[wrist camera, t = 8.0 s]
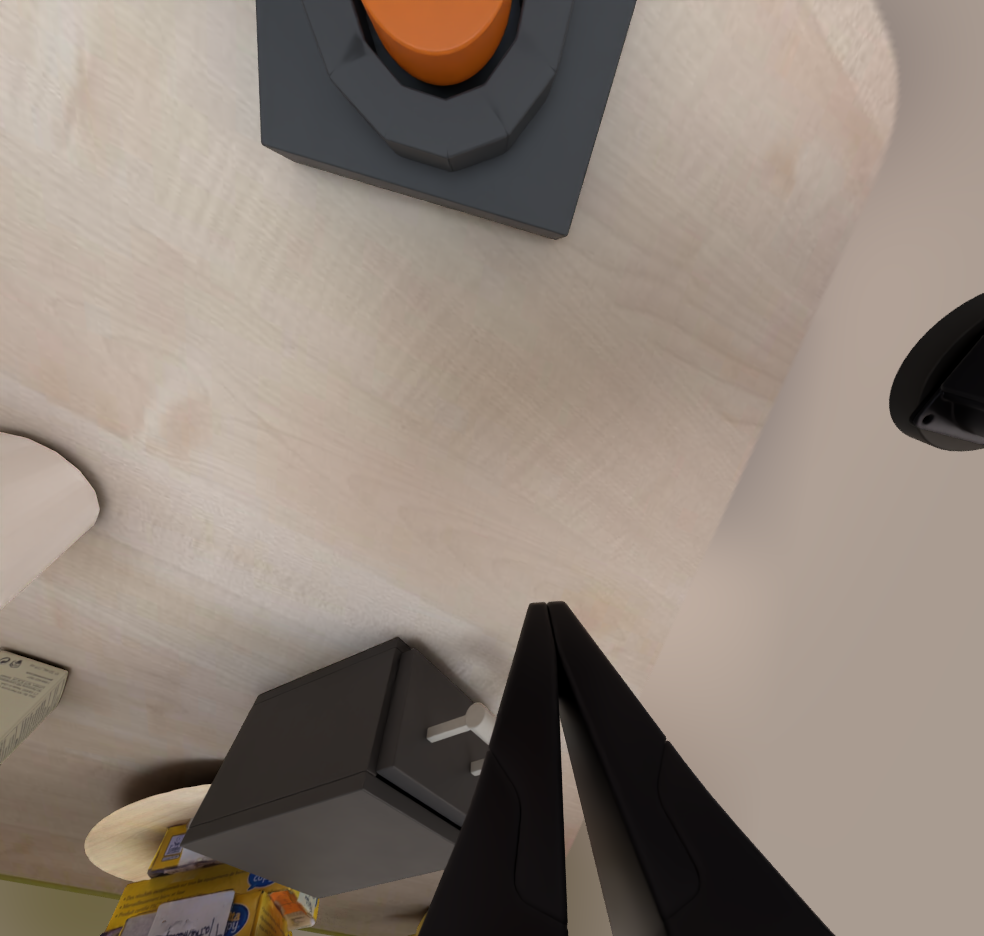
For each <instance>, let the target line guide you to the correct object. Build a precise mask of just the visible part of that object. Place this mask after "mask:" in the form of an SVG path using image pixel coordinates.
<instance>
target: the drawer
mask: <svg viewBox="0 0 984 936" xmlns="http://www.w3.org/2000/svg"><path fill="white" fill-rule="evenodd" d="M496 718H497V717H496V716H495V715H494V714H493V713H492V712H491V711H490V710H489V709H487V708H486V707H485V706H484V705H483V704H482V703H473V702H472V701H471V700H470V699H469V698H468V697H467V696H466V695H465V694H464V693H463V692H462V691H460V690H459V689H458V688H457V687H456V686H455V685H454V684H453V683H452V682H451V681H450V680H449V679H448V678H447V677H445V676H444V675H443V674H442V673H441V672H440V671H439V670H438V669H437V668H436V667H435V666H434V665H433V664H432V663H430V662H429V661H428V660H427V659H426V658H425V657H424V656H423V655H422V654H421V653H420V652H419V651H418V650H417V649H415V648H414V649H411V650H409V651H406V652H404V653H402V654H401V657H400V662H399V666H398V671H397V676H396V680H395V685H394V689H393V694H392V699H391V703H390V708H389V712H388V717H387V722H386V726H385V731H384V735H383V740H382V744H381V749H380V754H379V758H378V763H377V767H376V773H377V775H376V776H375V777H377V778H378V779H380V780H381V781H383V782H384V783H386V784H388V785H389V786H391V787H392V788H394V789H395V790H397V791H399V792H400V793H402V794H403V795H405V796H407V797H408V798H410V799H411V800H413V801H414V802H416V803H418V804H419V805H421V806H422V807H424V808H425V809H427V810H429V811H430V812H432V813H433V814H435V815H436V816H438V817H440V818H441V819H443V820H444V821H446V822H447V823H449V824H451V825H452V826H454V827H455V824H457V825H458V826H460V827H462V825H463V822H464V820H465V817H466V814H467V812H468V809H469V806H470V804H471V801H472V797H473V794H474V791H475V788H476V785H477V782H478V779H479V775H480V772H481V769H482V765H483V762H484V759H485V755H486V752H487V751H488V746H489V742H490V739H491V735H492V732H493V728H494V725H495V721H496Z"/></svg>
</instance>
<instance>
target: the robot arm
mask: <svg viewBox="0 0 984 936" xmlns="http://www.w3.org/2000/svg"><path fill="white" fill-rule="evenodd" d="M909 423H910V424H911V425H913V426H915V427H918V428H921V429H924V430H928V431H932V432H936V433H940V434H943V435H947V436H951V437H955V438H958V439H962V440H966V441H970V442H973V443H977V444H981V445H984V328H983V329H982V330H981V332H980V333H979V334H978V335H977V336H976V338H975V339H974V340H973V341H972V342H971V344H970V345H969V346H968V347H967V348H966V350H965V351H964V352H963V353H962V354H961V355H960V357H959V358H958V359H957V360H956V361H955V363H954V364H953V365H952V366H951V367H950V369H949V370H948V371H947V372H946V373H945V375H944V376H943V377H942V378H941V379H940V381H939V382H938V383H937V384H936V385H935V387H934V388H933V389H932V390H931V391H930V393H929V394H928V395H927V396H926V397H925V399H924V400H923V401H922V402H921V403H920V405H919V406H918V407H917V408H916V409H915V411H914V412H913V413H912V414H911V416H910V417H909ZM559 715H560V717H559ZM560 719H561V723H562V727H563V731H564V736H565V740H566V744H567V748H568V752H569V756H570V760H571V765H572V769H573V773H574V777H575V781H576V785H577V789H578V793H579V798H580V802H581V806H582V810H583V814H584V818H585V822H586V826H587V831H588V835H589V839H590V842H591V847H592V851H593V855H594V859H595V864H596V867H597V872H598V876H599V880H600V884H601V888H602V893H603V896H604V901H605V905H606V909H607V913H608V917H609V922H610V926H611V930H612V934H613V936H835V935H834V934H833V933H832V932H831V931H830V929H828V927H827V926H826V925H825V924H824V923H823V922H822V921H821V920H820V918H819V917H818V916H817V915H816V914H815V913H814V912H813V911H812V910H811V908H809V906H808V905H807V904H806V903H805V902H804V901H803V900H802V898H801V897H800V896H799V895H798V894H797V893H796V892H795V891H794V889H793V888H792V887H791V886H790V885H789V884H788V882H787V881H786V880H785V879H784V878H783V877H782V876H781V875H780V873H778V871H777V870H776V869H775V868H774V867H773V866H772V864H771V863H770V862H769V861H768V860H767V859H766V858H765V857H764V855H763V854H762V853H761V852H760V851H759V850H758V849H757V848H756V846H755V845H754V844H753V843H752V842H751V841H750V840H749V838H748V837H747V836H746V835H745V834H744V833H743V832H742V831H741V829H740V828H739V827H738V826H737V825H736V824H735V823H734V821H733V820H732V819H731V818H730V817H729V815H728V814H727V813H726V812H725V811H724V810H723V809H722V807H721V806H720V805H719V804H718V803H717V801H716V800H715V799H714V798H713V797H712V796H711V794H710V793H709V792H708V791H707V790H706V788H705V787H704V786H703V784H702V783H701V782H700V781H699V779H698V778H697V777H696V776H695V774H694V773H693V772H692V770H691V769H690V768H689V767H688V765H687V764H686V763H685V762H684V760H683V759H682V758H681V756H680V755H679V754H678V752H677V751H676V750H675V748H674V747H673V746H672V744H671V743H670V742H669V741H666V736H665V735H664V734H663V732H662V731H661V730H660V728H659V727H658V726H657V724H656V723H655V722H654V721H653V719H652V718H651V716H650V715H649V714H648V712H647V711H646V710H645V708H644V707H643V706H642V704H641V703H640V702H639V700H638V699H637V698H636V696H635V695H634V694H633V692H632V691H631V690H630V688H629V687H628V686H627V684H626V683H625V682H624V680H623V679H622V678H621V676H620V675H619V674H618V672H617V671H616V670H615V668H614V667H613V666H612V664H611V663H610V662H609V660H608V659H607V658H606V656H605V655H604V654H603V652H602V651H601V650H600V648H599V647H598V646H597V644H596V643H595V642H594V640H593V639H592V638H591V636H590V635H589V633H588V632H587V631H586V629H585V628H584V627H583V625H582V624H581V623H580V621H579V620H578V619H577V617H576V616H575V615H574V613H573V612H572V611H571V609H570V608H569V607H568V605H567V604H566V603H565V602H563V601H555V602H548V603H547V604H546V603H545V602H539V603H531V604H529V606H528V610H527V613H526V617H525V620H524V624H523V627H522V631H521V634H520V638H519V641H518V645H517V648H516V652H515V655H514V658H513V662H512V665H511V669H510V672H509V676H508V679H507V683H506V686H505V690H504V693H503V697H502V700H501V704H500V707H499V711H498V714H497V718H496V721H495V725H494V728H493V732H492V735H491V739H490V742H489V746H488V751H487V752H486V755H485V759H484V762H483V765H482V769H481V772H480V775H479V779H478V782H477V785H476V788H475V791H474V794H473V797H472V801H471V804H470V806H469V809H468V812H467V814H466V817H465V820H464V822H463V825H462V828H461V830H460V833H459V836H458V838H457V841H456V843H455V846H454V848H453V851H452V853H451V856H450V858H449V860H448V863H447V865H446V868H445V870H444V873H443V875H442V878H441V880H440V883H439V885H438V887H437V890H436V892H435V895H434V897H433V900H432V902H431V905H430V907H429V909H428V912H427V914H426V917H425V919H424V922H423V924H422V927H421V929H420V931H419V934H418V936H568V929H567V923H568V920H567V894H566V869H565V844H564V818H563V793H562V768H561V742H560Z"/></svg>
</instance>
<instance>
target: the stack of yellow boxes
mask: <svg viewBox="0 0 984 936" xmlns="http://www.w3.org/2000/svg"><path fill="white" fill-rule="evenodd" d="M210 786H211V784H207V785H200V786H194V787H187V788H181V789H177V790H173V791H171V792H167V793H162V794H158V795H155V796H151V797H148V798H146V799H142V800H139V801H137V802H134V803H132V804H130V805H127V806H125V807H123V808H121V809H119V810H117V811H115V812H113V813H112V814H110V815H109V816H107V817H105V818H104V819H103V820H101V821H100V822H99V823H98V824H97V825H96V826H94V828H93V829H92V830H91V831H90V833H89V834H88V836H87V838H86V841H85V853H86V855H87V856H88V858H89V860H90V861H91V862H92V863H93V864H95V865H96V866H97V867H99V868H100V869H102V870H103V871H105V872H107V873H110V874H112V875H114V876H116V877H119V878H122V879H126V880H130V881H134V882H135V883H131V884H128V885H127V886H126V888H125V889H124V892H123V894H122V896H121V898H120V901H119V903H118V905H117V907H116V910H115V911H114V914H113V916H112V918H111V920H110V922H109V924H108V926H107V929H106V930H105V932H104V933H102V934H101V935H100V936H292V932H291V930H297V929H301V928H305V927H311V926H313V925H314V924H315V922H316V919H317V913H318V906H319V899H318V898H315V897H312V896H310V895H307V894H305V893H302V892H299V891H297V890H294V889H291V888H289V887H286V886H283V885H281V884H278V883H275V882H273V881H270V880H267V879H265V878H262V877H259V876H257V875H254V874H252V873H249V872H246V871H244V870H241V869H238V868H236V867H233V866H230V865H228V864H225V863H222V862H220V861H217V860H214V859H212V858H209V857H206V856H204V855H201V854H199V853H196V852H193V851H191V850H188V849H185V848H183V847H180V843H181V841H182V840H183V838H184V836H185V834H186V832H187V830H188V829H189V826H190V824H191V822H192V820H193V818H194V816H195V814H196V813H197V811H198V809H199V807H200V805H201V803H202V801H203V799H204V797H205V795H206V794H207V792H208V790H209V788H210Z"/></svg>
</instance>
